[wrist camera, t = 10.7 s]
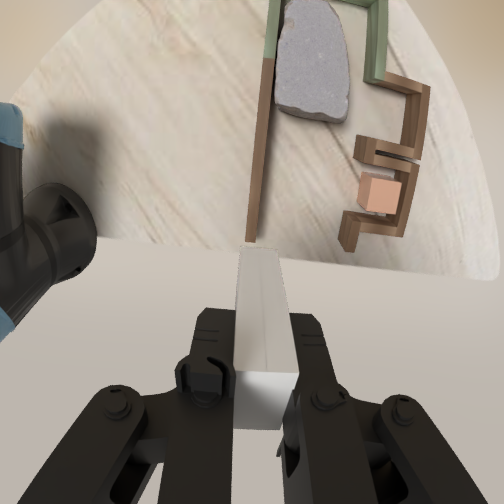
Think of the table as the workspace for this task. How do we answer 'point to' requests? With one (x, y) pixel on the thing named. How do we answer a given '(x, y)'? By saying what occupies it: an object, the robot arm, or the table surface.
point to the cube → (378, 193)
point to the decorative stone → (312, 63)
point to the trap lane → (364, 145)
